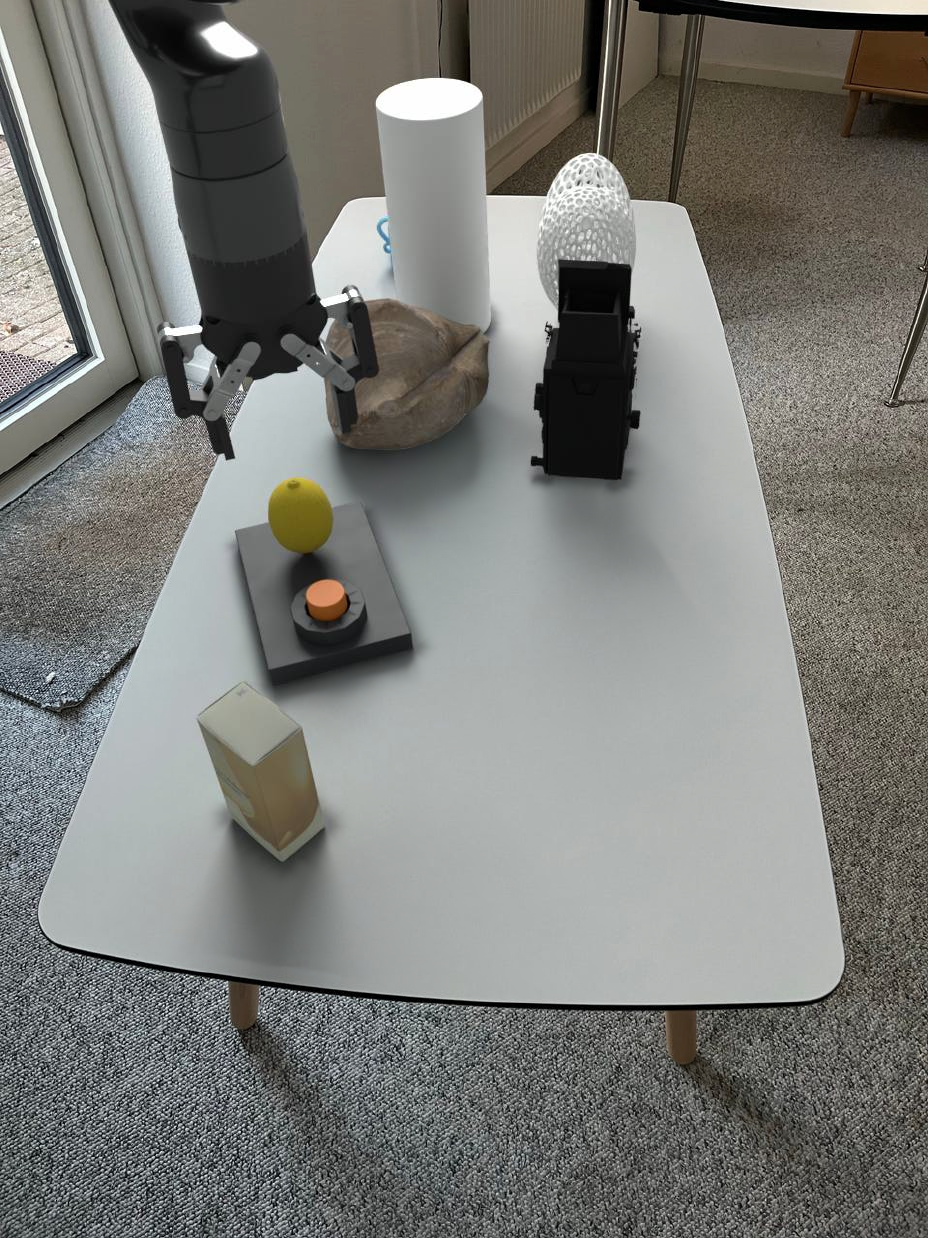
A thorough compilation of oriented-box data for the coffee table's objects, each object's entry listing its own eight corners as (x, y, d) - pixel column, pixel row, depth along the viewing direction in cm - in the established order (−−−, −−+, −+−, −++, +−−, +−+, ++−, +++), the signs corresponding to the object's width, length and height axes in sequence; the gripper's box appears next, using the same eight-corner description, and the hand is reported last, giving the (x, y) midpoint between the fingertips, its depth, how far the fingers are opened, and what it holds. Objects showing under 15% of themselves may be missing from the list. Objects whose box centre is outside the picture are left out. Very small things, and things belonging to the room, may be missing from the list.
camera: (642, 404, 111) (657, 220, 97) (632, 488, 102) (648, 298, 88) (546, 398, 113) (547, 216, 98) (529, 480, 104) (527, 292, 89)
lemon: (269, 569, 94) (252, 499, 89) (287, 527, 98) (271, 458, 92) (330, 574, 94) (316, 504, 88) (345, 531, 97) (333, 462, 92)
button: (313, 625, 88) (309, 611, 86) (305, 599, 90) (302, 584, 89) (351, 616, 88) (348, 601, 87) (342, 590, 90) (339, 575, 89)
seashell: (528, 322, 108) (413, 246, 99) (494, 474, 104) (372, 411, 95) (432, 356, 120) (322, 292, 111) (399, 494, 117) (282, 439, 108)
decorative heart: (631, 366, 116) (642, 215, 104) (533, 365, 117) (532, 215, 105) (629, 281, 129) (639, 136, 116) (540, 281, 130) (540, 138, 117)
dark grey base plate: (272, 685, 88) (264, 657, 85) (238, 545, 100) (230, 516, 97) (413, 648, 90) (409, 619, 87) (363, 515, 102) (358, 486, 99)
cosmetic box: (228, 816, 79) (189, 714, 70) (273, 779, 81) (241, 675, 72) (284, 867, 76) (251, 766, 67) (330, 827, 78) (303, 724, 69)
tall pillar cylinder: (384, 337, 123) (357, 113, 105) (422, 291, 129) (402, 72, 111) (470, 353, 120) (457, 125, 101) (504, 305, 126) (498, 82, 108)
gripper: (134, 278, 62) (197, 494, 74) (370, 232, 65) (395, 448, 77) (121, 222, 67) (182, 433, 79) (342, 182, 70) (369, 391, 82)
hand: (287, 440), depth 78 cm, fingers open, 8 cm apart
